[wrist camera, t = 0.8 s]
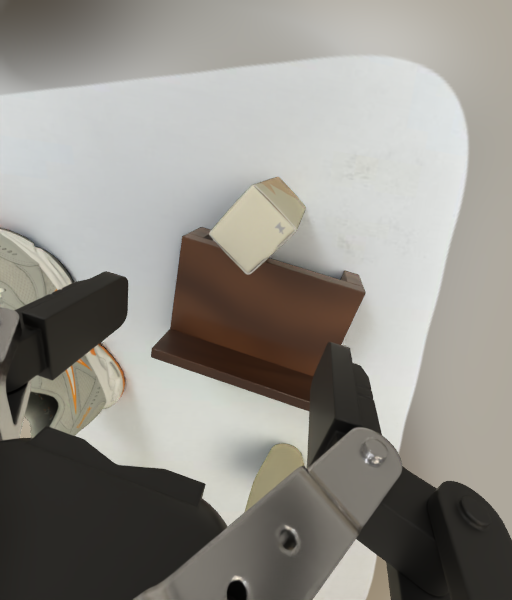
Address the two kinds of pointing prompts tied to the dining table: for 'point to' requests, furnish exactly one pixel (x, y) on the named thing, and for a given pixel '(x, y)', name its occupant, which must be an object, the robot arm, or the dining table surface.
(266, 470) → the mug
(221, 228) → the box
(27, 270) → the running shoe
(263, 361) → the shelf
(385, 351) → the dining table surface
